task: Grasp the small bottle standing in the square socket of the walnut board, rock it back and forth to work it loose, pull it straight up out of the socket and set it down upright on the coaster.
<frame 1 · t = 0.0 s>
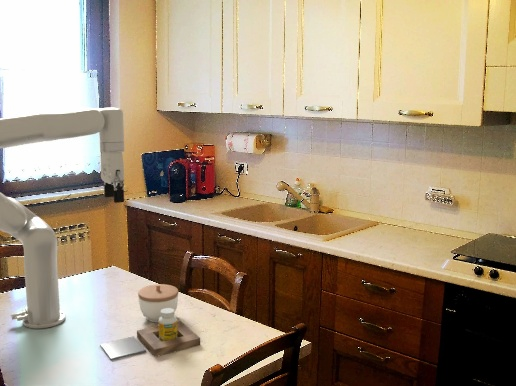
hand: (114, 199, 184), 37 cm above the table, tool pointing down, fingers open, 9 cm apart
coaster: (122, 348, 161), on the table
lidded bowl: (159, 318, 182), on the table
socket board: (168, 341, 166), on the table
supplement bottle: (168, 341, 166), resting in socket board
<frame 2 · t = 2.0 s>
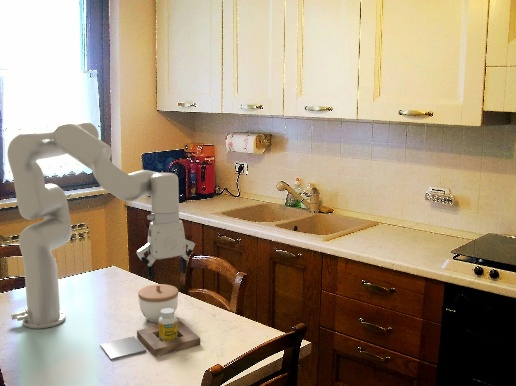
hand: (167, 275, 162), 20 cm above the table, tool pointing down, fingers open, 9 cm apart
nothing on the table moved.
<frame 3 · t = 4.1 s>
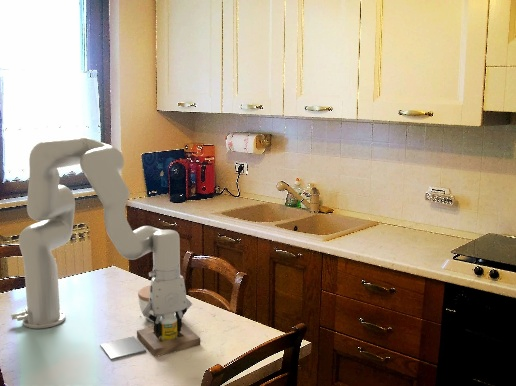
hand: (168, 331, 165), 3 cm above the table, tool pointing down, fingers closed on supplement bottle, 5 cm apart
supplement bottle: (168, 341, 166), resting in socket board, touching gripper
everything else where it was.
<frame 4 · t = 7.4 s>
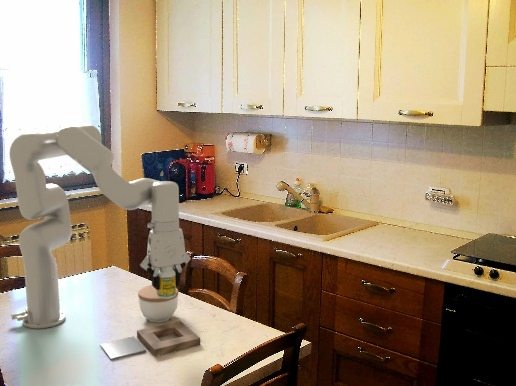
hand: (166, 285, 163), 17 cm above the table, tool pointing down, fingers closed on supplement bottle, 5 cm apart
supplement bottle: (166, 296, 163), point 14 cm above the table, touching gripper
everything else where it was.
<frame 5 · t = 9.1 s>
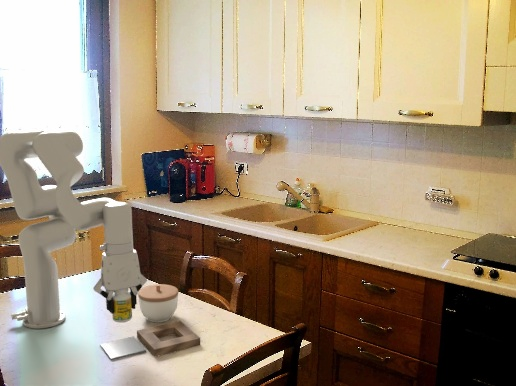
hand: (121, 309, 158), 12 cm above the table, tool pointing down, fingers closed on supplement bottle, 5 cm apart
supplement bottle: (122, 319, 159), point 9 cm above the table, touching gripper
everything else where it was.
when the fingers open (5 cm above the table, at t = 10.5 s): supplement bottle drops 1 cm, resting on coaster.
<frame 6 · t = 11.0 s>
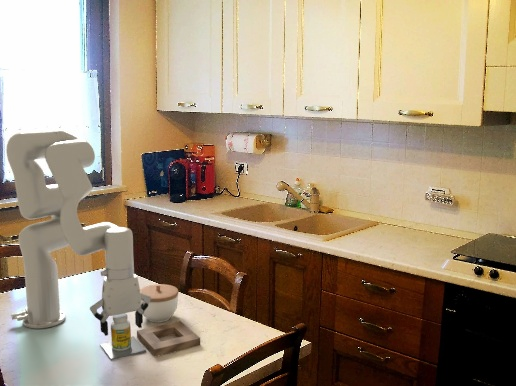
hand: (122, 329, 160), 6 cm above the table, tool pointing down, fingers open, 9 cm apart
supplement bottle: (121, 347, 161), resting on coaster
everything else where it was.
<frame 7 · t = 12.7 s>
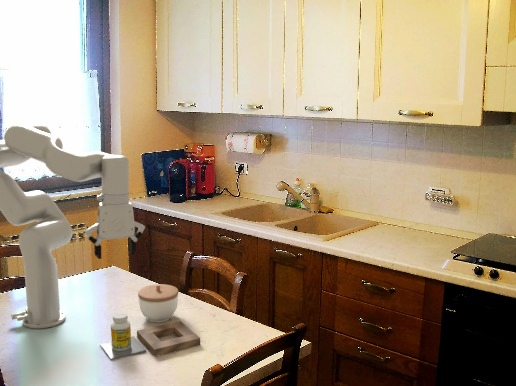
hand: (115, 255, 165), 25 cm above the table, tool pointing down, fingers open, 9 cm apart
nothing on the table moved.
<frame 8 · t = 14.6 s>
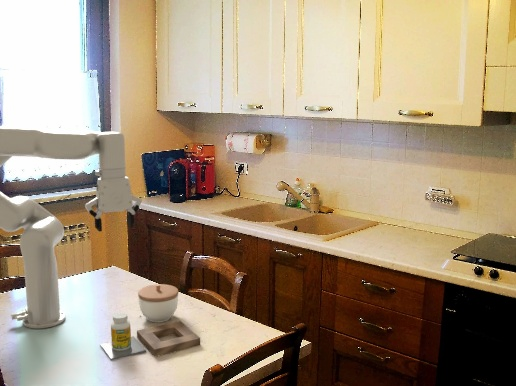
hand: (114, 228, 173), 30 cm above the table, tool pointing down, fingers open, 9 cm apart
nothing on the table moved.
at the end: supplement bottle 0.4 cm from the coaster (horizontally); supplement bottle tilted 0°; supplement bottle resting on coaster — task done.
